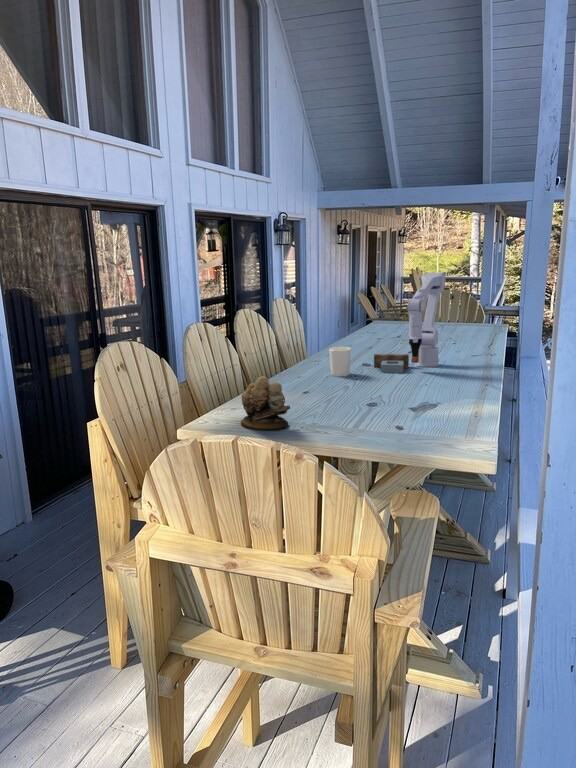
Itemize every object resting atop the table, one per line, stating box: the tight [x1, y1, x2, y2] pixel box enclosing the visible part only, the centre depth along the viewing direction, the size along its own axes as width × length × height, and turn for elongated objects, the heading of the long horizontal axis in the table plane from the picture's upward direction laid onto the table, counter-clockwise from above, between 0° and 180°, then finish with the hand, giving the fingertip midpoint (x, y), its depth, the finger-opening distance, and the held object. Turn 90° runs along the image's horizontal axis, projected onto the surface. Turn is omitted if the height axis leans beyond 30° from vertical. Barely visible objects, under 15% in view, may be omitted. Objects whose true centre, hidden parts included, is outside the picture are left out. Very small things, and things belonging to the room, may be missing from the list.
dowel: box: [410, 353, 419, 364], centre depth 247 cm, size 3×3×8 cm
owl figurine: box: [240, 375, 291, 432], centre depth 180 cm, size 18×12×17 cm, turn 65°
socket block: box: [380, 360, 405, 374], centre depth 253 cm, size 10×10×4 cm
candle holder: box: [328, 346, 352, 377], centre depth 247 cm, size 10×10×12 cm
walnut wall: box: [373, 353, 410, 369], centre depth 259 cm, size 16×3×6 cm, turn 77°
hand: (415, 355), depth 247 cm, fingers closed on dowel, 3 cm apart
